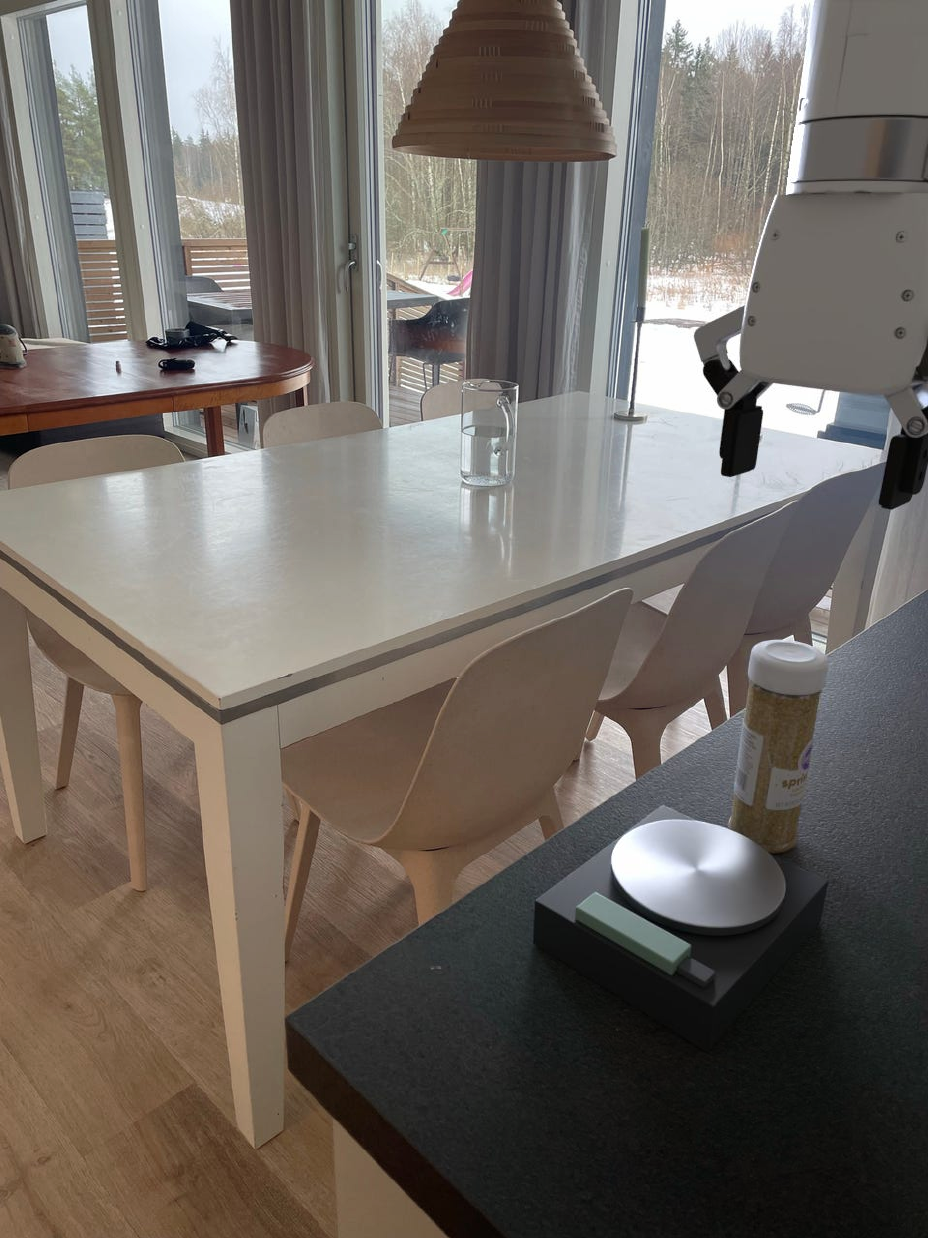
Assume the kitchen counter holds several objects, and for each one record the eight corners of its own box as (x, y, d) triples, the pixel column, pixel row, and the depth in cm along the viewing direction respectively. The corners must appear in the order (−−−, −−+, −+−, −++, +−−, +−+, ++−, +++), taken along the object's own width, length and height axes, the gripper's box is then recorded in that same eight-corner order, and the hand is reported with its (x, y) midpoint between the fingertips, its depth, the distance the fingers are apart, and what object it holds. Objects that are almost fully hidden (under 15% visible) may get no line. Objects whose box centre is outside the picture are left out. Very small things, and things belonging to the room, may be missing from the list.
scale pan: (667, 809, 59) (668, 801, 59) (813, 876, 53) (815, 867, 53) (576, 878, 52) (577, 870, 52) (731, 964, 46) (732, 954, 46)
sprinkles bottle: (795, 863, 59) (828, 672, 54) (721, 847, 61) (747, 659, 56) (798, 824, 63) (830, 643, 58) (730, 810, 65) (755, 632, 59)
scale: (658, 843, 61) (663, 793, 60) (820, 922, 54) (831, 868, 53) (532, 943, 52) (535, 888, 51) (707, 1053, 45) (715, 993, 44)
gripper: (1073, 164, 45) (990, 506, 52) (749, 174, 56) (714, 454, 63) (1028, 153, 40) (942, 533, 47) (682, 166, 51) (652, 471, 58)
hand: (811, 487), depth 55 cm, fingers open, 9 cm apart
